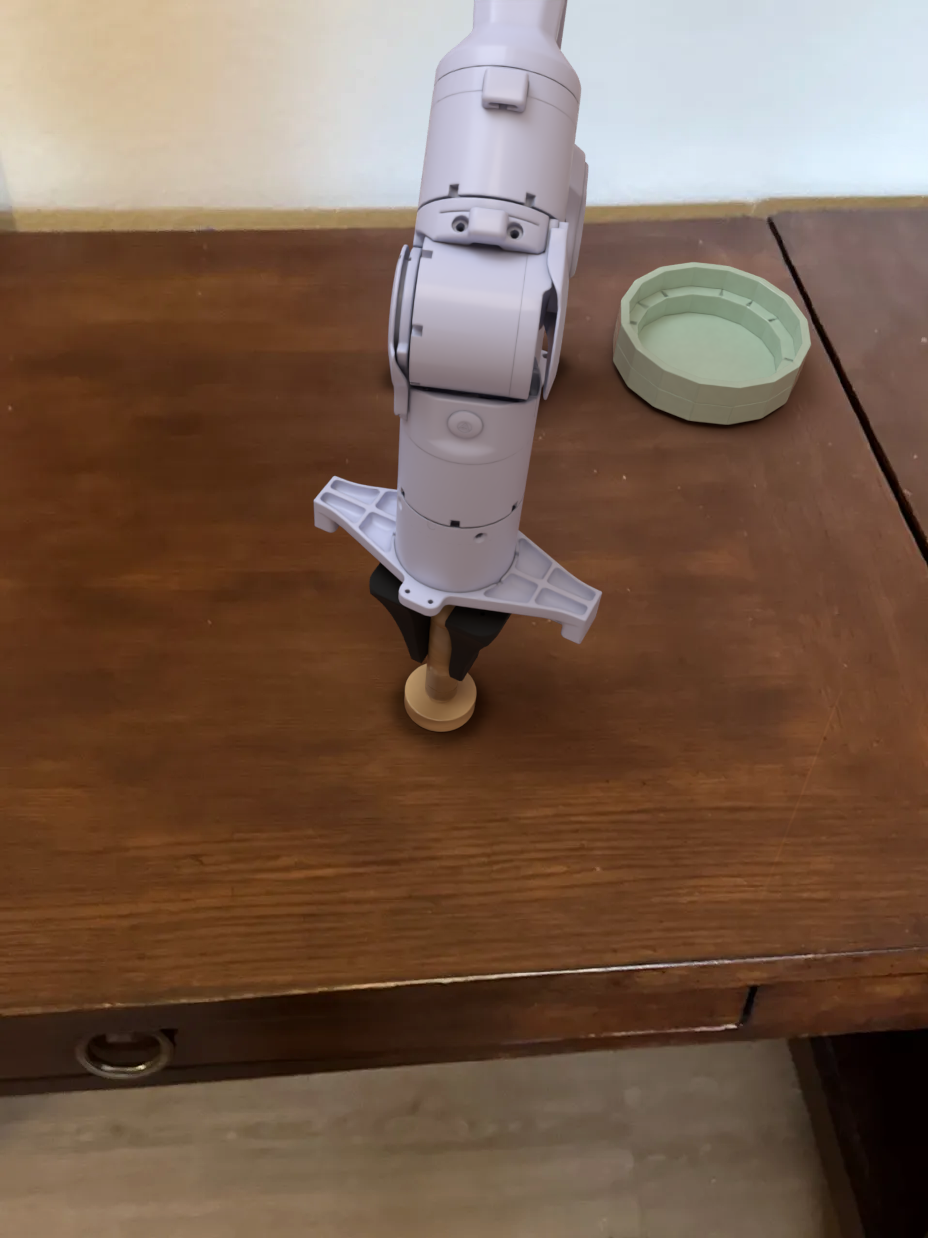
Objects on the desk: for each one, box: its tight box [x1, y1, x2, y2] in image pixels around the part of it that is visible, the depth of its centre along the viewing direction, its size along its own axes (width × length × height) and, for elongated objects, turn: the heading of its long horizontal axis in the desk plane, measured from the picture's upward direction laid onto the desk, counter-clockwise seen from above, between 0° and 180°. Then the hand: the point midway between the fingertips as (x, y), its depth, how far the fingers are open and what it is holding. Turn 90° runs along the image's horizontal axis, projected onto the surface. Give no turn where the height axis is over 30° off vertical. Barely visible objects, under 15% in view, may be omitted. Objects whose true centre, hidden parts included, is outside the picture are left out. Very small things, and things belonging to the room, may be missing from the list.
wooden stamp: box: [403, 605, 477, 733], centre depth 65 cm, size 4×4×9 cm
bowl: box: [612, 261, 812, 426], centre depth 86 cm, size 13×13×4 cm
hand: (443, 656), depth 65 cm, fingers closed on wooden stamp, 2 cm apart
